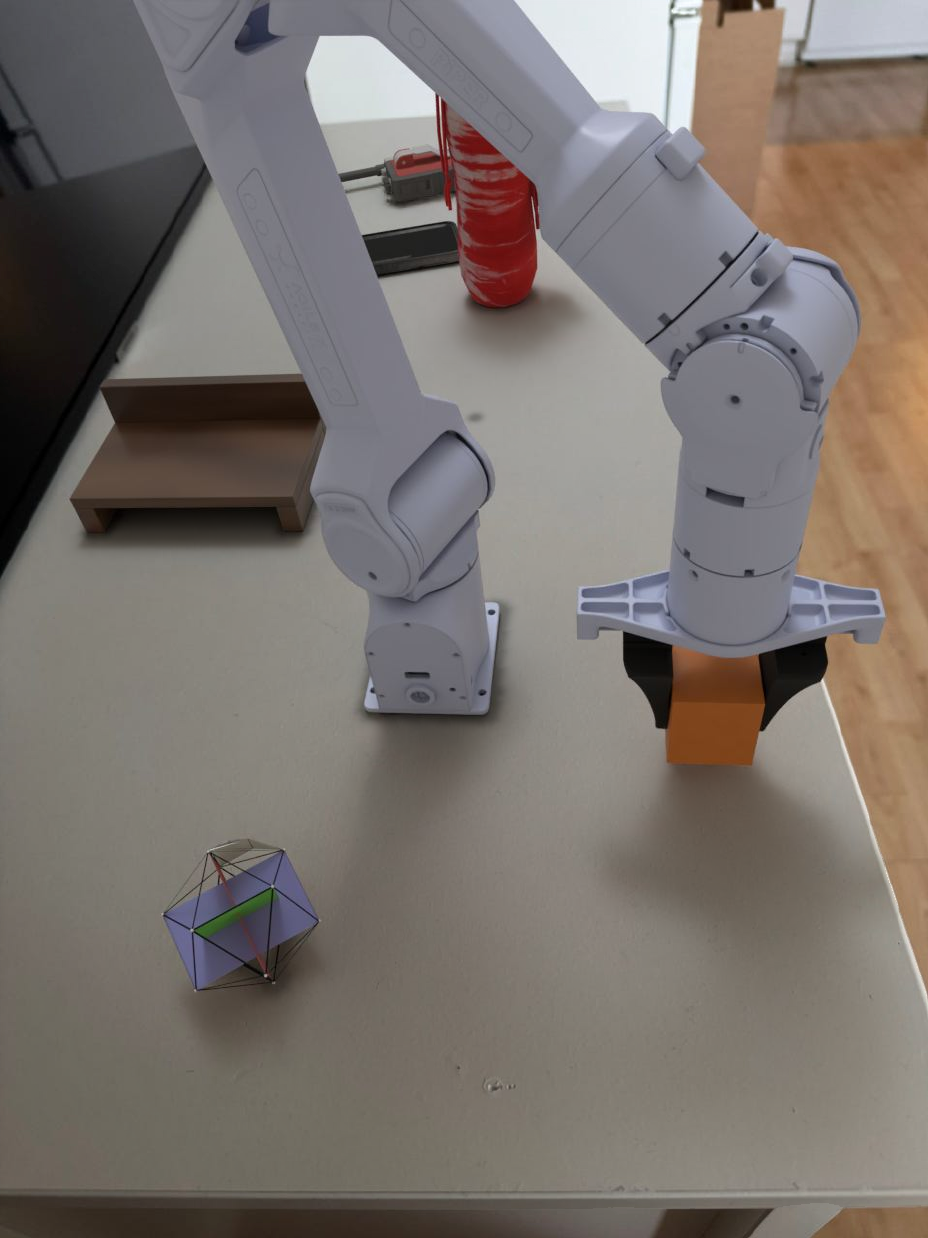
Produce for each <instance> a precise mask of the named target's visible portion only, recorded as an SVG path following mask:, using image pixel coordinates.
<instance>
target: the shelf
mask: <svg viewBox="0 0 928 1238" xmlns="http://www.w3.org/2000/svg"><path fill="white" fill-rule="evenodd" d="M99 389H100V392H101V394H102V396H103V398H104V401H105V403H106V406H107V408H108V411H109V412H110V415H111V417H112V419H113V422H114V424H113V425H112V427H111V429H109V432H108V434H107V435H106V437H105V439H104V440H103V442H102V443H101V445H100V447H99V448H98V450H97V452H96V453H95V455H94V457H93V459H92V460H91V462H90V464H89V465H88V467H87V468H86V471H85V472H84V474H83V475H82V477H81V478H80V480H79V482H78V483H77V485H76V487H75V489H74V490H73V492H72V494H71V495H70V497H69V501H70V503H71V505H72V507H73V509H74V511H75V513H76V515H77V517H78V518H79V520H80V522H81V524H82V526H83V528H84V530H85V533H106V530H107V529H108V528H109V526H110V524H111V521H112V520H113V518H114V516H115V514H116V512H117V511H118V509H162V508H164V509H167V508H169V509H171V508H176V509H177V508H179V509H180V508H181V509H182V508H276V511H277V515H278V518H279V521H280V525H281V527H282V530H283V532H304V529H305V526H306V524H307V520H308V517H309V514H310V510H311V507H312V504H313V502H314V499H313V497H312V495H311V492H310V486H311V482H312V478H313V475H314V471H315V468H316V465H317V462H318V458H319V455H320V452H321V449H322V445H323V442H324V439H325V434H326V426H325V423H324V421H323V419H322V417H321V415H320V412H319V410H318V408H317V406H316V404H315V402H314V399H313V397H312V395H311V393H310V391H309V388H308V386H307V384H306V382H305V380H304V378H303V375H302V373H273V374H272V373H271V374H269V373H268V374H241V375H240V374H239V375H238V374H237V375H208V376H207V375H206V376H171V377H139V378H137V377H135V378H132V377H131V378H105V379H104V380H103V381H101V384H100V385H99Z"/></svg>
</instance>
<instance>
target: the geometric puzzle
mask: <svg viewBox="0 0 928 1238" xmlns="http://www.w3.org/2000/svg"><path fill="white" fill-rule="evenodd" d="M254 849H255V850H254ZM265 850H275V851H273V852H272V851H271V852H268V853H265V854H262V855H257V856H255V857H251V858H247V859H242V860H239V861H236V862H232V861H234V860H235V859H237V858H239V857H241V856H243V855H244V854H246V853H248V852H253V851H255V852H257V851H259V852H260V851H263V852H265ZM269 855H272V856H269ZM265 856H269V857H267V858H266V859H264V860H262V861H260V862H258V863H257V864H254V865H252V866H251V867H249V868H247V869H245V870H244V869H243V868H241V867H239V866H238V865H235V864H239V863H242V862H246V861H249V860H254V859H258V858H261V857H265ZM208 857H210V858H211V859H210V860H211V861H212V863H213V865H214V867H215V870H214V871H213V872H211V873H210V874H209V875H208V876H207V877H206V878H204V877H205V873H206V868H207V862H208ZM204 859H205V862H204V868H203V872H202V877H201V881H200V882H199V883H198V884H197V885H195V887H193V888H192V889H191V890H190V891H188V893H186V894H185V895H184V896H183V897H181V898H180V899H179V900H178V901H176V902H175V903H174V904H173V905H172V906H171V904H172V903H173V902H174V900H175V898H176V897H177V896H178V895H179V894H180V892H181V890H182V889H183V888H184V886H185V885H186V884H187V883H188V881H189V879H190V878H191V877H192V875H193V874H194V872H195V871H196V870H197V868H198V867H199V866H200V864H201V863H202V861H203V860H204ZM231 862H232V863H231ZM227 866H233V867H234V868H236V869H238V870H240V871H241V872H240V873H238V874H236V875H235V874H233V873H232V872H230V871H228V870H227V869H225V868H224V867H227ZM216 872H217V873H218V875H217V885H215V886H213V887H212V888H209V889H208V890H206V891H203V892H202V888H203V883H204V882H205V881H206V880H208V879H209V878H210V877H211V876H213V874H215V873H216ZM223 872H225V873H227V874H229V875H230V876H232V877H230V878H228V879H226V877H225V874H224V873H223ZM220 881H221V883H220ZM199 886H200V887H199ZM198 887H199V890H198V891H199V892H198V895H197V896H194V897H192V898H191V899H188V900H187V901H185V902H184V903H182V904H179V903H180V902H181V901H182V900H184V898H186V897H187V896H189V894H191V893H192V892H193V891H194V890H196V889H197V888H198ZM177 904H179V905H178V906H176V905H177ZM170 906H171V907H170ZM175 906H176V907H175ZM160 916H162V917H163V920H164V922H165V924H166V927H167V928H168V931H169V933H170V935H171V938H172V940H173V942H174V944H175V946H176V950H177V951H178V953H179V956H180V959H181V961H182V963H183V965H184V967H185V970H186V972H187V974H188V976H189V978H190V981H191V983H192V986H193V992H194V993H197V992H200V991H210V990H220V989H227V988H236V987H245V986H246V987H247V986H254V985H255V986H256V985H265V984H272V985H275V984H276V980H277V979H278V978H279V976H280V975H281V974H282V972H283V971H284V970H285V969H286V967H287V966H288V964H290V962H291V960H292V959H293V958H294V956H295V955H296V954H297V952H298V951H299V949H301V947H302V946H303V944H304V943H305V941H306V940H307V939H308V938H309V936H310V935H311V934H312V932H313V931H314V930H315V929H316V927H317V926H318V924H320V923H321V922H322V919H320V918H319V917H318V915H317V913H316V911H315V909H314V907H313V904H312V902H311V901H310V899H309V897H308V895H307V893H306V891H305V888H304V887H303V885H302V883H301V881H300V878H299V877H298V875H297V873H296V870H295V869H294V867H293V864H292V863H291V861H290V858H289V857H288V855H287V852H286V848H285V847H283V848H280V847H276V846H273V845H270V844H267V843H263V842H260V841H257V840H254V839H250V838H240V839H239V838H238V839H229V840H226V841H224V842H222V843H220V844H218V845H215V846H214V847H212V848H209V849H208V850H206V854H205V855H204V857H203V858H202V859H201V861H200V862H199V863H198V865H197V867H196V868H195V869H194V870H193V872H192V873H191V874H190V876H189V877H188V879H187V880H186V881H185V883H183V886H182V887H181V888H180V890H178V893H177V894H176V895H175V897H174V898H173V900H172V901H171V902H170V904H169V905H168V906H167V908H166V909H165V911H164V912H162V913H161V914H160ZM310 927H311V928H310ZM309 928H310V929H309ZM307 929H309V930H308V931H307V932H306V933H305V934H304V935H303V936H302V937H301V938H300V939H299V940H298V941H297V942H296V943H295V945H293V946H292V947H291V948H290V950H289V951H288V952H287V953H286V954H284V956H283V957H282V958H281V959H279V952H280V946H281V944H282V943H284V942H286V941H288V940H290V939H291V938H293V937H294V936H296V935H298V934H300V933H302V932H304V931H305V930H307ZM306 936H307V937H306ZM304 938H305V939H304ZM303 939H304V940H303ZM302 940H303V942H302ZM300 942H302V943H301V944H300V946H299V947H298V949H297V950H296V951H295V953H294V954H293V955H292V957H291V958H290V959H289V961H288V962H287V963H286V964H285V966H284V967H283V968H282V970H281V971H280V972H279V973H278V975H277V976H276V974H277V967H278V964H280V962H282V961H283V959H284V958H286V956H287V955H289V954H290V953H291V952H292V950H293V949H295V947H296V946H298V944H299V943H300ZM275 947H277V948H276V949H277V950H276V956H275V962H274V963H275V964H274V966H273V967H272V968H271V969H270V970H269V969H268V968H269V967H268V965H269V956H270V955H269V954H270V950H272V949H273V948H275ZM265 953H266V958H265V961H264V958H263V956H262V955H263V954H265ZM255 958H257V959H258V962H259V964H260V966H261V968H262V970H263V971H261V970H260V969H259V968H257V967H255V966H253V965H251V964H250V963H248V962H251V961H252V960H253V959H255ZM278 959H279V960H278ZM241 966H243V967H245V968H246V969H248V970H249V971H251V972H254V973H255V974H257V975H258V976H254V977H249V978H244V979H241V980H240V979H239V980H235V981H231V982H227V983H221V984H217V985H213V986H208V985H209V984H211V983H213V982H215V981H216V980H219V979H221V978H222V977H224V976H225V975H227V974H229V973H231V972H232V971H235V970H236V969H238V968H240V967H241ZM272 971H273V977H272V974H271V972H272ZM258 978H264V979H265V980H267V981H266V982H257V983H249V984H239V985H232V984H235V983H240V982H244V981H250V980H254V979H258ZM230 984H231V985H232V986H227V985H230ZM206 986H208V987H206Z"/></svg>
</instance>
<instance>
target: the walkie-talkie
mask: <svg viewBox="0 0 928 1238" xmlns="http://www.w3.org/2000/svg"><path fill="white" fill-rule="evenodd" d="M443 155H444V151H443ZM447 155H448V168H449V177H450V179H451V181H452V183H453V184H452V186H451V187H450V191H451V193H453V192H455V184H454V175H453V168H452V163H451V158H450V153H449V148H447ZM383 161H384V162H383V163H380V164H375V166H370V167H366V168H361V169H356V170H350V171H345V172H340V173H339V172H338V175H339V177H340V180H341V182H342V183H345V182H351V181H356V180H360V179H366V178H370V177H375V176H376V177H381V181H382V184H383V187H384V193H385V195H386V196H391V195H392V197H393V199H394V201H395V202H398V203H399V202H400V203H402V202H408V201H412V200H417V199H423V198H427V197H432V196H438V195H442V194H443V195H444V187H445V184H446V177H445V175H444V173H443V171H442V167H441V159H440V151H439V148H435V147H433V146H431V145H429V144H423V145H418V146H413V147H412V148H409V147H408V148H407V147H406V148H403V149H398V150H397V151H396V152H394V154H393V156H387V157H384V158H383Z"/></svg>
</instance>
